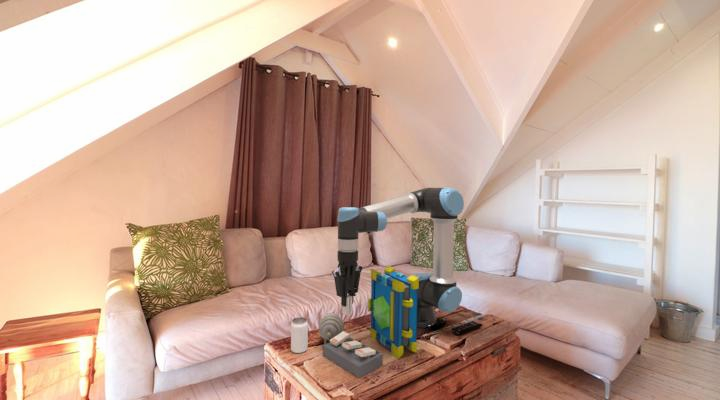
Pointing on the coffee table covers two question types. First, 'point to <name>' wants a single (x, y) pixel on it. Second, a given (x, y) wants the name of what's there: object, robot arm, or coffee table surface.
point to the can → (299, 335)
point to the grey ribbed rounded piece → (330, 326)
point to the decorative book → (394, 310)
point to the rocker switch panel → (352, 358)
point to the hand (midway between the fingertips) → (347, 313)
